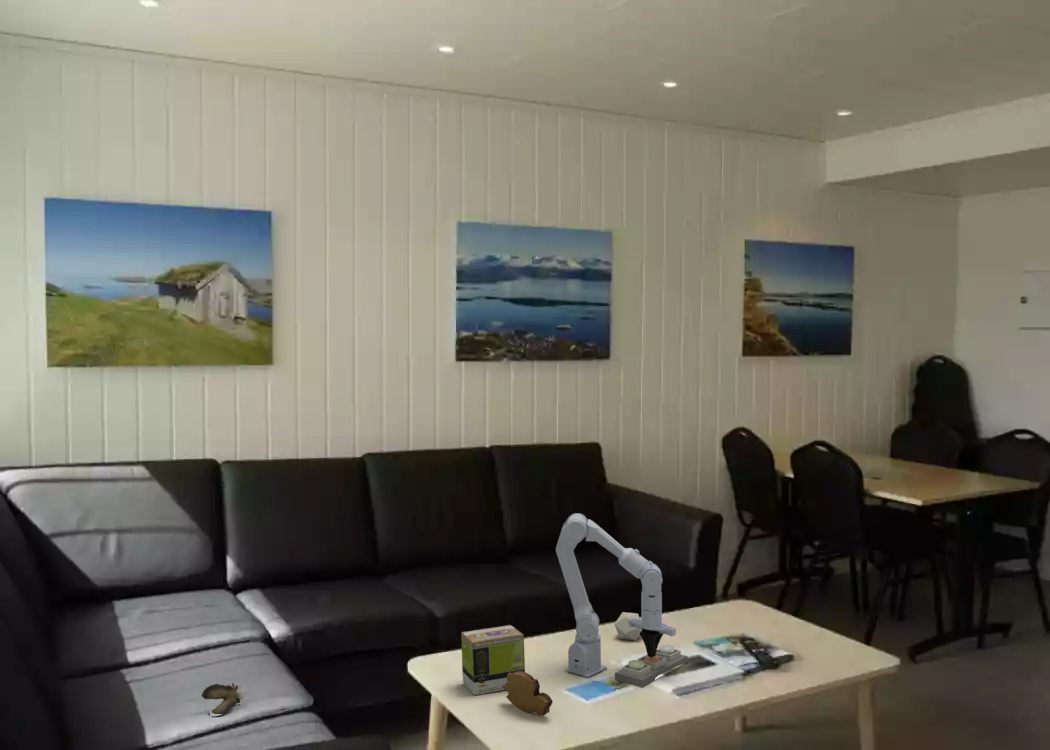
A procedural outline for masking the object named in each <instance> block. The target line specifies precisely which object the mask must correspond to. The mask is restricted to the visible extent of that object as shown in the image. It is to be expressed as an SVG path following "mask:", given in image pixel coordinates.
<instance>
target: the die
mask: <svg viewBox="0 0 1050 750" xmlns="http://www.w3.org/2000/svg"><path fill="white" fill-rule="evenodd" d="M630 619H639V620H641V618H640V616H639V613H635V612H625V611H623V612H622V613H621V614H620V615H619V617H618V618H617V620H616V621H615V623H614V627H615V629H616V632H617V635H618V637H619V639H620V640H628V641H635V642H636V641H637V639H638V638H639V636H640V632H641V631H642V629H641V628H636V627H628V620H630Z"/></svg>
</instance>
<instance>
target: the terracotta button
mask: <svg viewBox="0 0 1050 750" xmlns="http://www.w3.org/2000/svg"><path fill="white" fill-rule="evenodd" d="M644 656H645V655H644ZM644 660H645V661H649V662H653V663H656V662H658V661H659V660H660V658H659V657H658V656H654V657H648V656H645V657H644Z"/></svg>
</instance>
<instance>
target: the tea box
mask: <svg viewBox="0 0 1050 750" xmlns="http://www.w3.org/2000/svg"><path fill="white" fill-rule="evenodd" d="M460 638H461V667H462V669H461V671H462V672H461V673H462V683H463V684H464V686H465V687H466V688H467V689H468V690H469V692H471V694H472V695H473V696H480V695H485V694H488V693H489V694H490V693H495V692H496V693H497V692H500V691H505V690H504V689H503V688H502V685H504V684H506V683H508V682H507V675H508V673H511V672H513V671H515V672H517V671H522V672H526V663H525V662H526V661H525V660H526V659H525V636H524V634H523V633H522V632H521V631H519V630H518V629H517V628H516V627H514V626H513V625H511V624H508V625H502V626H496V627H495V626H494V627H488V628H481V629H475V630H468V631H462V632H461V637H460Z"/></svg>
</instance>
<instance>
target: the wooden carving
mask: <svg viewBox="0 0 1050 750" xmlns="http://www.w3.org/2000/svg"><path fill="white" fill-rule="evenodd" d="M507 682H508V683H506V684H504V685H502V688H503V689H504V690H503V691H507V695H506V696H505V697H506V699H507V700H508V701H509V702H510V703H511V705H513V706H514V707H515V708H516V709H518V710H519V711H521V712H523V713H525V714H532V713H535V714H536V715H538V716H539V717H545V716H546V715H547V714H549V713H550V708H551V707H552V704H553V699H552V697H551V696H550V695H549V694H548V693H546V692H540V688H541V686H540V682H539V680H538V678H534V677H533V676H532V675H531V674H530V673H528V672H526V671H525V672H522V671H517V672H515V671H513V672H511V673H508V675H507Z"/></svg>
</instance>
